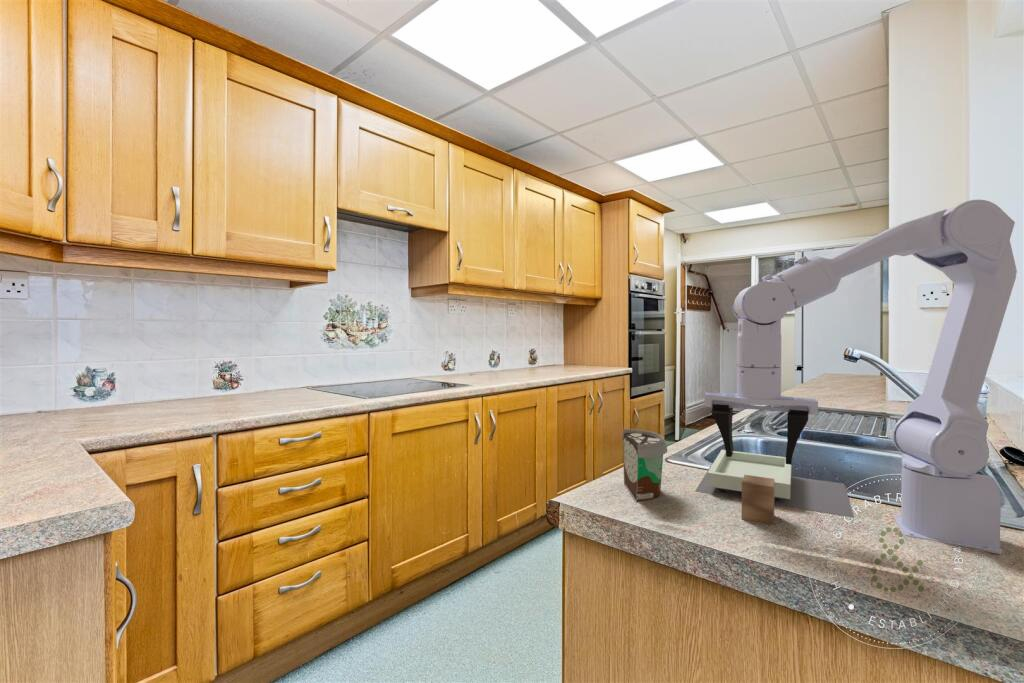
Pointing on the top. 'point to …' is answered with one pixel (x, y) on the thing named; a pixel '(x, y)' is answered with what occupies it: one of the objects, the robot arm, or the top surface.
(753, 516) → the walnut block
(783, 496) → the pale green tray
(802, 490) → the mat
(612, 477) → the top surface
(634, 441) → the food container
